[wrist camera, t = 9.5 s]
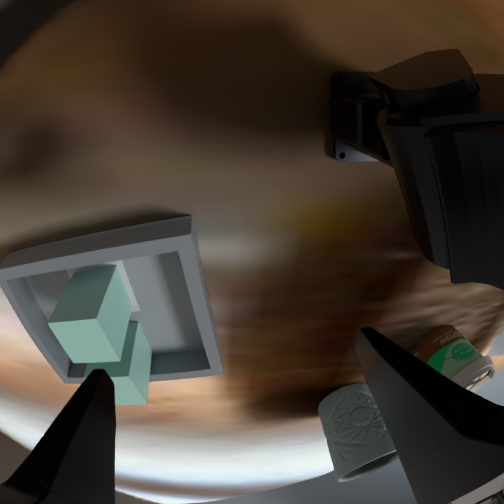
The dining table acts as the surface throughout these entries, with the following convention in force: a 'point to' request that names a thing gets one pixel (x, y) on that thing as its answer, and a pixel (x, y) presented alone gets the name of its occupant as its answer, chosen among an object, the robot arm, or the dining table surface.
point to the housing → (141, 296)
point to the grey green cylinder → (355, 432)
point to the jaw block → (93, 316)
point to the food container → (454, 357)
